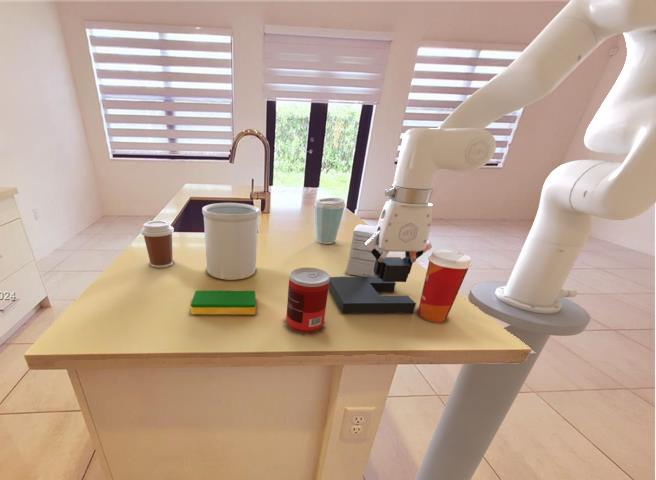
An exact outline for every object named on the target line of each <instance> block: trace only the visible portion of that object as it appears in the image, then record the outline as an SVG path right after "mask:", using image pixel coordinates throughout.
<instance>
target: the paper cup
mask: <svg viewBox="0 0 656 480" xmlns="http://www.w3.org/2000/svg"><path fill="white" fill-rule="evenodd" d="M427 259H428V264H427V269H426V273H425V277H424V282H423V287H422V292H421V296H420V301H419V305H418V310H417V313H418V316H420V317H421V318H422V319H424V320H426V321H429V322H433V323H442V322H445V321H446V320H447V318H448V316H449V313H450V312H451V310H452V307H453V305H454V303H455V301H456V298H457V296H458V294H459V291H460V289H461V286H462V285H463V282H464V280H465V277H466V275H467V273H468V270H469V269H471V268H472V265H473V264H472V258H471V256H469V255H468V254H465V253H461V252H459V251H458V252H456V250H451V249H435V250H433V251H432V252H431V254H430V255H428V257H427Z"/></svg>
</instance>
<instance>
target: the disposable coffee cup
mask: <svg viewBox="0 0 656 480" xmlns="http://www.w3.org/2000/svg"><path fill="white" fill-rule="evenodd" d="M313 206H314V221H315V238H316V241H317V243H318V244H319V243H320V244H323V245H330V244H334V243H335V241H336V240H337V237H338V233H339V229H340V225H341V221H342V217H343V214H344V210H345V208H346V203H345V199H344V198H341V197H323V198H319V199H316V201H314V204H313Z"/></svg>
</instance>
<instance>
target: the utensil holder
mask: <svg viewBox="0 0 656 480" xmlns="http://www.w3.org/2000/svg"><path fill="white" fill-rule="evenodd" d="M260 212H261V210H260V208H259V207H258V206H256V205H251V204H248V203H238V202H219V203H218V202H217V203H211V204H207V205H204V206H203V207H202V209H201V213H202V215H203V227H204V244H205V258H206V259H205V260H206V270H207V273H208V274H209V275H210V276H212V277H213V278H216V279H220V280H227V281H229V280H230V281H232V280H235V281H236V280H242V279H247V278H250V277H251V276H252V275H254V274H255V273H256V267H257V254H258V231H259V216H260Z"/></svg>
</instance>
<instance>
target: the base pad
mask: <svg viewBox="0 0 656 480" xmlns="http://www.w3.org/2000/svg"><path fill="white" fill-rule="evenodd" d="M396 284H397V282H383V281H382V280H381V279H379V278H378V277H377V276H373V277H361V276H330V281H329V289H328V291H329V292H330V294H331V295H332V297H333V299H334V301H335V303H336V304H337V306H338V308H339V310H340V313H341V314H414V311H415V308H416V304H417V303H416V302H415V301H414V300H413V298H411V297H410V296H409V295H380V294H379V293H394V291H395V288H396Z"/></svg>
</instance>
